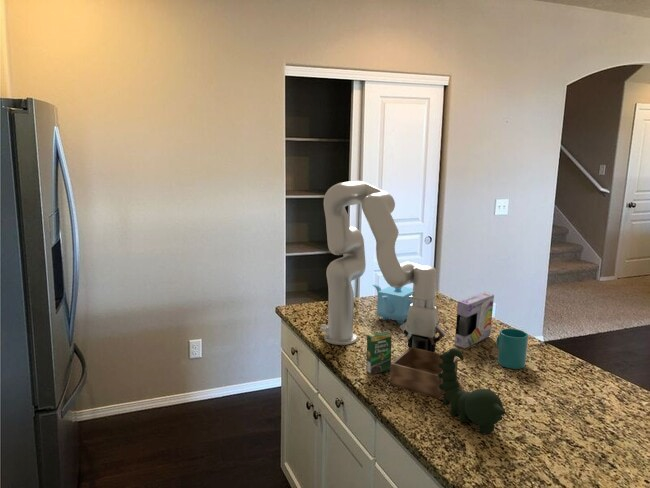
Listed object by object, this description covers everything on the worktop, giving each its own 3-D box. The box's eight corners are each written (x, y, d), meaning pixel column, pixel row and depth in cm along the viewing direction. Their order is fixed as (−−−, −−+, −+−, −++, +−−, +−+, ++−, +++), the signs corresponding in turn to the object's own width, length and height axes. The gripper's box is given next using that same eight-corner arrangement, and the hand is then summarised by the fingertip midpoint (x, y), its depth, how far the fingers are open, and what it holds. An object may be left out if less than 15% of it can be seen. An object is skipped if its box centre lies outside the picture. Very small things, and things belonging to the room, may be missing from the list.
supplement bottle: (430, 365, 172) (432, 331, 170) (410, 363, 173) (411, 329, 171) (430, 356, 179) (432, 324, 176) (411, 355, 180) (412, 323, 178)
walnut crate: (389, 384, 157) (390, 363, 156) (410, 366, 171) (410, 346, 169) (439, 398, 149) (440, 376, 148) (456, 378, 162) (457, 357, 161)
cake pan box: (463, 350, 185) (466, 303, 182) (451, 346, 189) (454, 300, 185) (491, 337, 198) (495, 293, 194) (480, 333, 201) (483, 291, 198)
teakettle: (410, 311, 229) (411, 279, 226) (425, 325, 210) (426, 291, 208) (369, 312, 225) (370, 280, 223) (381, 327, 207) (382, 292, 204)
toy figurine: (430, 409, 146) (489, 449, 124) (430, 345, 144) (490, 374, 122) (457, 403, 150) (519, 440, 127) (457, 340, 148) (520, 367, 125)
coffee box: (369, 375, 164) (371, 337, 161) (365, 371, 166) (366, 334, 164) (391, 371, 167) (392, 333, 165) (386, 367, 170) (387, 330, 167)
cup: (506, 353, 182) (508, 324, 180) (531, 367, 171) (534, 335, 169) (486, 357, 179) (488, 327, 176) (510, 371, 168) (513, 339, 166)
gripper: (395, 300, 173) (393, 349, 177) (444, 309, 164) (441, 361, 168) (404, 295, 180) (402, 342, 183) (452, 303, 171) (449, 353, 174)
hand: (421, 351), depth 175 cm, fingers closed on supplement bottle, 6 cm apart
